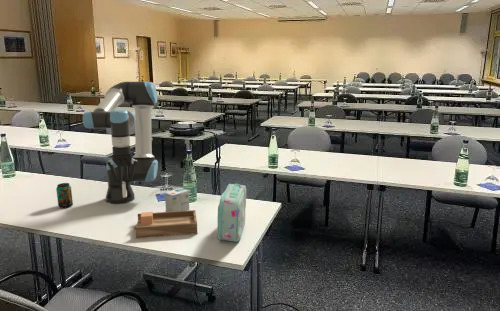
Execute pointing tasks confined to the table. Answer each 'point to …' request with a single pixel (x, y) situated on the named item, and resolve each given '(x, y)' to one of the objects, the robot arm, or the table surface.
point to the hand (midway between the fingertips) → (124, 196)
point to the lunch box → (232, 213)
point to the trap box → (168, 224)
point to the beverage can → (64, 195)
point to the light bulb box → (177, 200)
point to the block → (146, 218)
